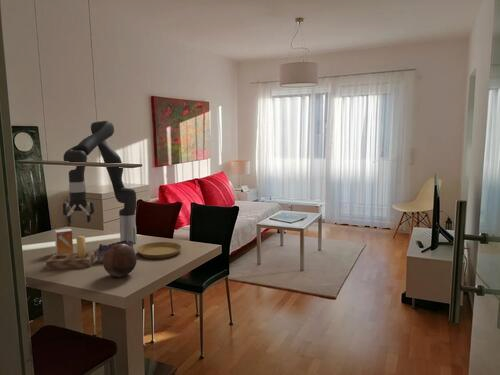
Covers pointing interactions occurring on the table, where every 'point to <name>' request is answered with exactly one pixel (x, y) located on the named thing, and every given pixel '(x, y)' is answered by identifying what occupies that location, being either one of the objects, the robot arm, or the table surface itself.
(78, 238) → the peg
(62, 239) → the small box
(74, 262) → the hole block
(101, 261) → the geode
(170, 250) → the plant saucer
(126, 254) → the wooden sphere
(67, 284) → the table surface
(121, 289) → the table surface
